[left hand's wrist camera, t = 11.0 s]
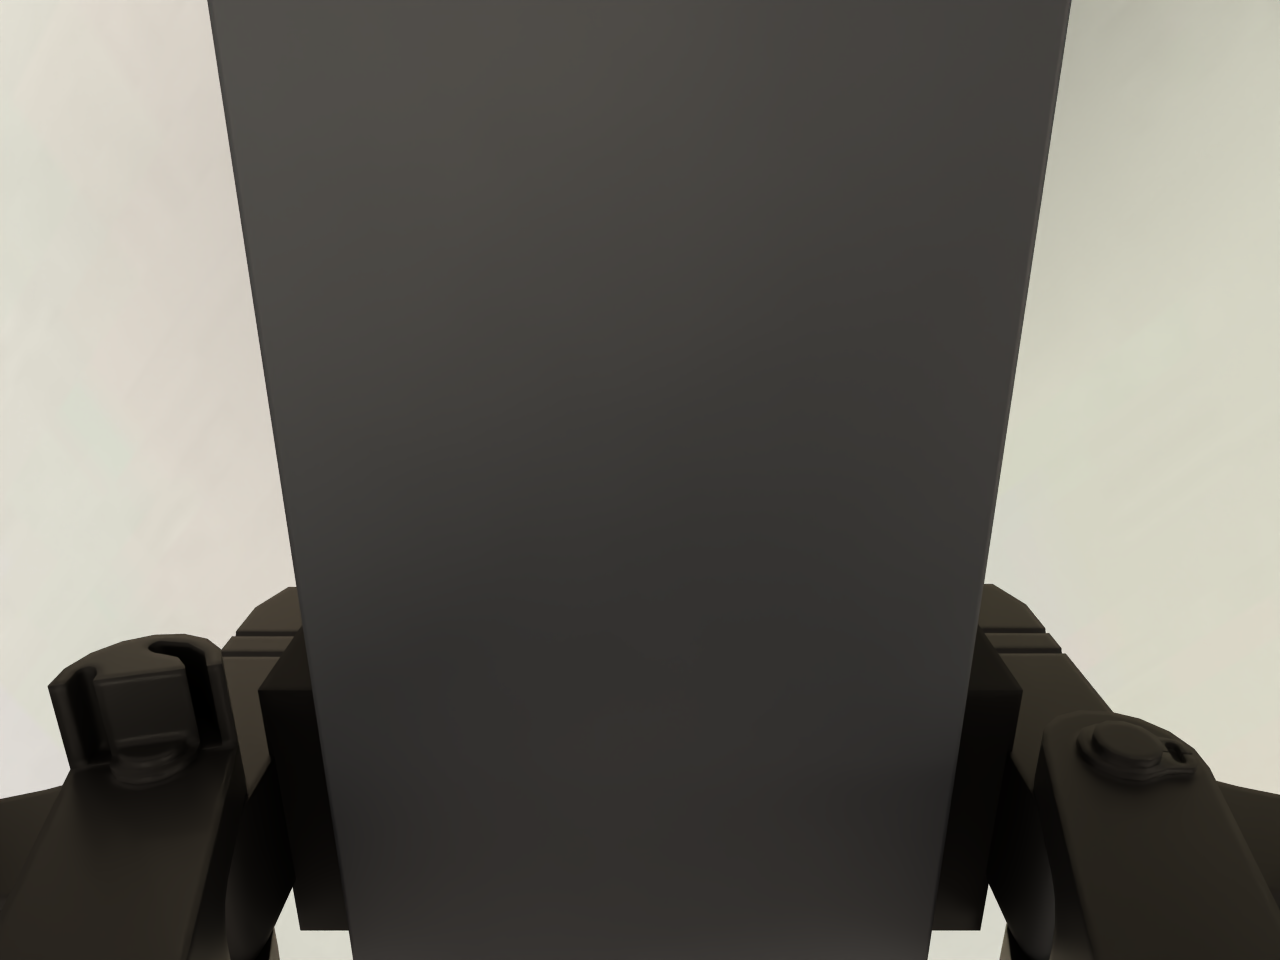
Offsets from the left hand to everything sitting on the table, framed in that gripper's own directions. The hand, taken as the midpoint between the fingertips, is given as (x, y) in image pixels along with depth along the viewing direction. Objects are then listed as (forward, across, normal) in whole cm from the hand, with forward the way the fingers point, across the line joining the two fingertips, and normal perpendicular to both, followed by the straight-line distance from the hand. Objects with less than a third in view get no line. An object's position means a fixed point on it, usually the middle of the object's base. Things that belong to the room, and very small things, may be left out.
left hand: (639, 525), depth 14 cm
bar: (+1, 0, -33) cm, 33 cm away
